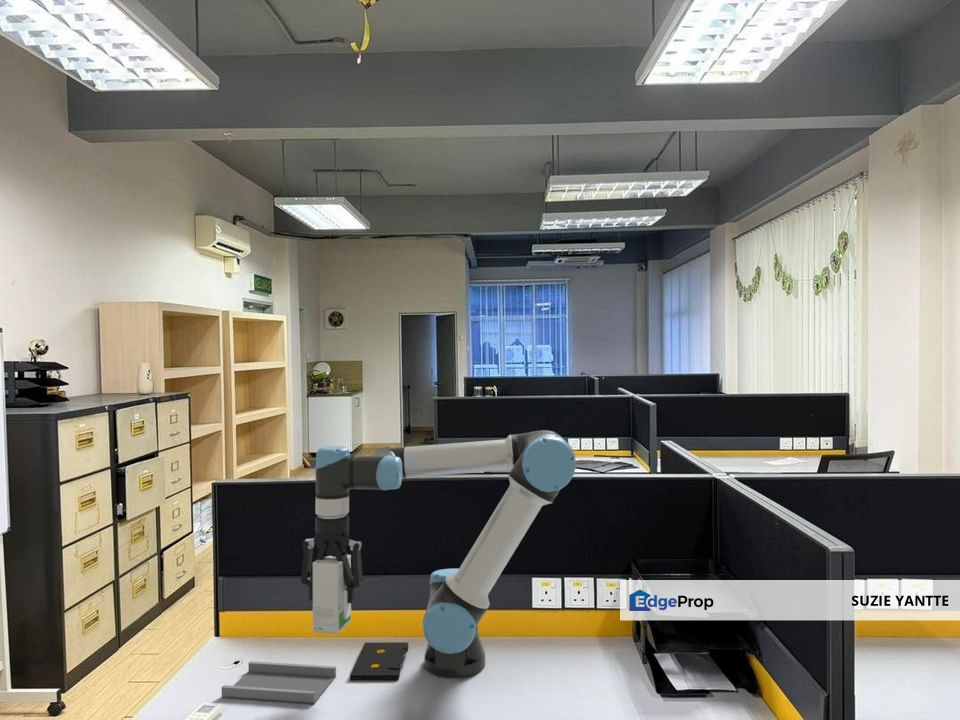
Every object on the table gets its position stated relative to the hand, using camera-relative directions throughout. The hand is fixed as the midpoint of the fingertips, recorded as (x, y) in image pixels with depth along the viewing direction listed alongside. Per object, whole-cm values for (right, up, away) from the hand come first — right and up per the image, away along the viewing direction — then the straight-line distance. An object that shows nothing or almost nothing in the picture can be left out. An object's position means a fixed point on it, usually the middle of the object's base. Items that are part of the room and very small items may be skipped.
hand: (331, 615), depth 151 cm
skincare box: (0, -3, 0) cm, 3 cm away
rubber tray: (-12, -18, +3) cm, 22 cm away
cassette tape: (+9, -18, +14) cm, 25 cm away
